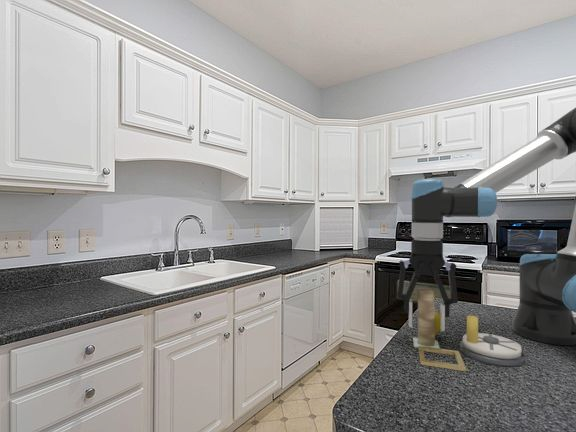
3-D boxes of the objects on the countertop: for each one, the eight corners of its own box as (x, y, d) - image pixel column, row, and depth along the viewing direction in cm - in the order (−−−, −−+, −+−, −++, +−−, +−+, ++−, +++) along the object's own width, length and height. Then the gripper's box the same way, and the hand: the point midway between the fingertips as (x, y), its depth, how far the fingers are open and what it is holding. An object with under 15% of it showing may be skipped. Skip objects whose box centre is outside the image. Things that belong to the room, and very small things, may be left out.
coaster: (437, 342, 84) (437, 340, 84) (440, 351, 78) (440, 349, 78) (413, 339, 86) (413, 337, 86) (414, 347, 80) (414, 346, 80)
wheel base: (513, 347, 81) (513, 342, 81) (533, 370, 69) (533, 365, 69) (456, 340, 85) (456, 336, 85) (466, 361, 73) (466, 356, 73)
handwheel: (499, 338, 83) (499, 310, 83) (534, 359, 71) (534, 326, 71) (453, 338, 83) (453, 309, 83) (480, 358, 71) (480, 325, 71)
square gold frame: (458, 354, 77) (458, 351, 77) (466, 371, 68) (466, 367, 68) (418, 348, 80) (418, 345, 80) (420, 364, 71) (420, 361, 71)
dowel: (433, 341, 84) (433, 288, 84) (435, 347, 80) (435, 291, 80) (417, 339, 85) (417, 287, 85) (418, 345, 81) (418, 290, 81)
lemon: (423, 332, 91) (423, 304, 92) (443, 336, 88) (444, 308, 88) (416, 337, 87) (417, 308, 87) (438, 342, 84) (438, 312, 84)
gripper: (467, 239, 83) (466, 327, 83) (387, 237, 89) (386, 318, 89) (473, 241, 76) (472, 337, 76) (386, 238, 82) (385, 327, 82)
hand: (426, 327), depth 82 cm, fingers open, 7 cm apart
